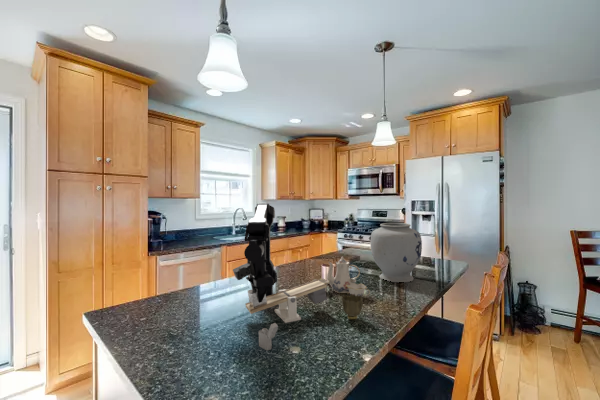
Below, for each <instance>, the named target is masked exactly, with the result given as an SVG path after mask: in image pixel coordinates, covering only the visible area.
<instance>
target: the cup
mask: <svg viewBox="0 0 600 400" xmlns="http://www.w3.org/2000/svg"><path fill="white" fill-rule="evenodd" d="M363 298H364V297H362V296H361V295H360V296H358V295H357V296H355V294H353V295H352V294H350V293H347V295H346V294H343V295H341V303H342V309H343V312H344V313H345V314H346V315H347V317H346V318H347V319H348V320H349V321H357V320H358V316H360V314H361V312H362V308H363Z"/></svg>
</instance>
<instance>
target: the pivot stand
mask: <svg viewBox="0 0 600 400" xmlns="http://www.w3.org/2000/svg"><path fill="white" fill-rule="evenodd" d="M284 290H287V289H283V288H282V289H278V292H277V293H279V292H281V291H284ZM297 300H298V299H297V298H296V296H293V297H287V301H286V302H283V303H281V304H278V308H275V309H274V313H275V314H276V315H277V316H278V317H279V318H280V319H281V320H282V321H283V322H284V323H285V324H286V323H292V322H297V321H301V320H302V317H301V315H299V314H298V313H297V310H298V309H297V305H298V304H297Z"/></svg>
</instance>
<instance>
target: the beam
mask: <svg viewBox="0 0 600 400" xmlns="http://www.w3.org/2000/svg"><path fill="white" fill-rule="evenodd" d="M318 280H319V279H317V280H314V281H312V280H311V281H308V282H306V283H303V284H300V285H296V286H294V287H293V286H292V287H290V288H288V289H286V290H284V289H283V290H284V291H281V292H276V293H273V295H270V296H267V297H266V299H267V304H265V305H263V306H260V307H257V308H253V307H252V306H251V305H250V301H248V302H246V303H245V304H244V305H245V308H246V309H247V311H248V312H249V313H250V314H251V315H252V314H255V313H257V312H260V311H264V310H267V309H269V308H272V307H274V306H279V304H281V303H283V302H286V301H287V297H293V296H296V299H297V298H300V297H303V296H306V295H307V298H308V300H309V301H310V302H312V303H314V304H315V305H316V304H319V303H321V302H325V301H327V300H328V298H327V292H326V291H327V290H325V288H326V287H328V286H326V284H324V283H322V282H320V281H318ZM326 289H327V288H326Z"/></svg>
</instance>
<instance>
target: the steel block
mask: <svg viewBox="0 0 600 400" xmlns="http://www.w3.org/2000/svg"><path fill="white" fill-rule="evenodd" d="M247 297H248V300H249V301H248V302H250V305H251V306H252V307H253V308H257V307H260V306H263V305H265V304H267V299H266V294H265V296H264V298H263V300H262V302H260V303H259V302H258V296H257V290H256V288H254V289H252V288H251V289H248V290H247Z"/></svg>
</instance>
